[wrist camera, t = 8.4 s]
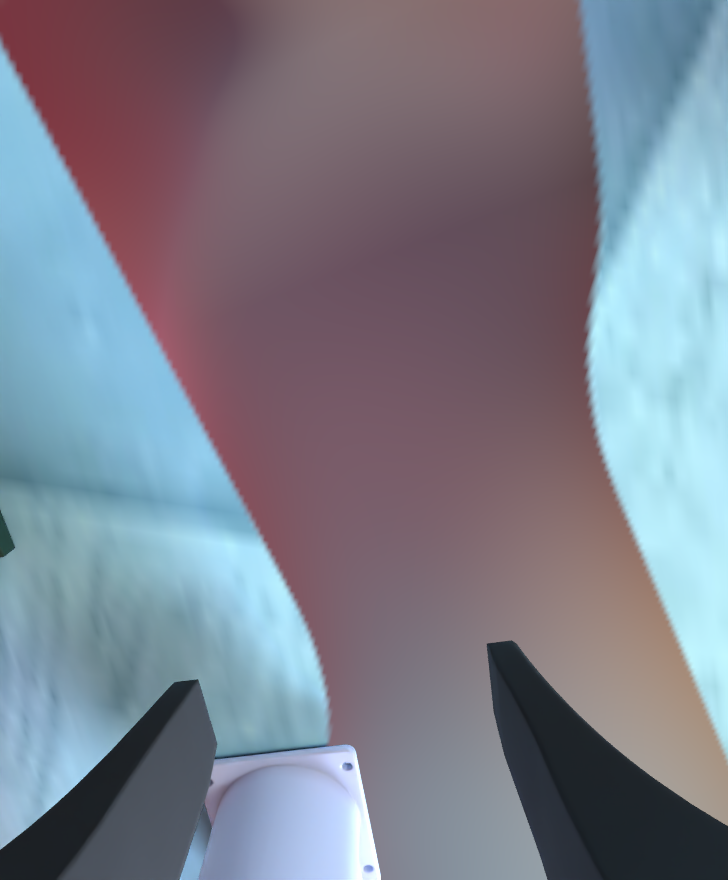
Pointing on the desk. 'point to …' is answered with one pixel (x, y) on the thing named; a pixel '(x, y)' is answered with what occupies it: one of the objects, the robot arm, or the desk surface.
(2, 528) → the green and cream block
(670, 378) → the desk surface
